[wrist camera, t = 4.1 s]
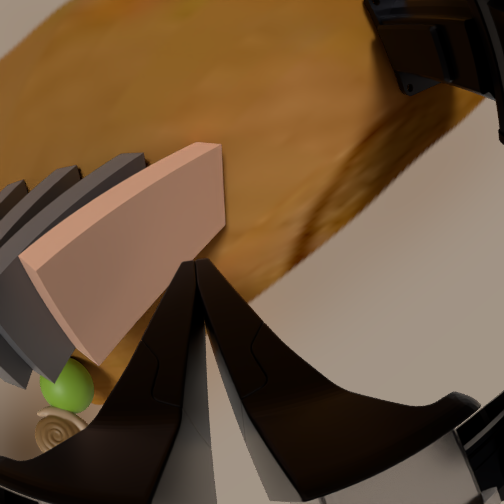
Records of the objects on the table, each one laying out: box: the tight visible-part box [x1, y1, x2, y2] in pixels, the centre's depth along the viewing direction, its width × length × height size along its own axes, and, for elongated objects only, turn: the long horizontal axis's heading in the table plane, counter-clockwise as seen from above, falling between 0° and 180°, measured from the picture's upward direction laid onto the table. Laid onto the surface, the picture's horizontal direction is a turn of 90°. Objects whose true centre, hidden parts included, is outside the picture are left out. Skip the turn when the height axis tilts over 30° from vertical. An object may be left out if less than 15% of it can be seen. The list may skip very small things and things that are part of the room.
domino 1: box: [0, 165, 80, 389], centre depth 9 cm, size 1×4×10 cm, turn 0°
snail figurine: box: [35, 358, 94, 453], centre depth 16 cm, size 5×6×12 cm
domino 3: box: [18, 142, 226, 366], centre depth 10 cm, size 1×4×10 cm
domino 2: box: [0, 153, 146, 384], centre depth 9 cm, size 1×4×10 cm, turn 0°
